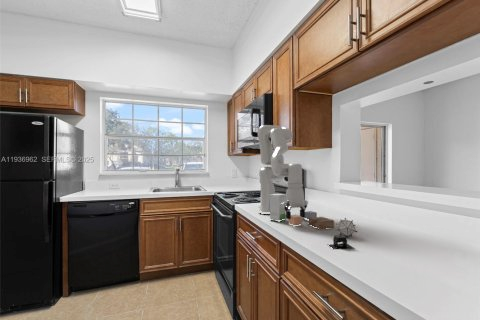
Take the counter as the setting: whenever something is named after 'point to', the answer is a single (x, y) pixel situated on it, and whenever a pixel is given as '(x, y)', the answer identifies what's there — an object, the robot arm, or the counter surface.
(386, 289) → the counter surface
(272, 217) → the skincare box
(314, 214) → the slate grey cube
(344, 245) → the black bracket block
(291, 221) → the terracotta cube
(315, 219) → the walnut block
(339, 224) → the grey spiked ball
